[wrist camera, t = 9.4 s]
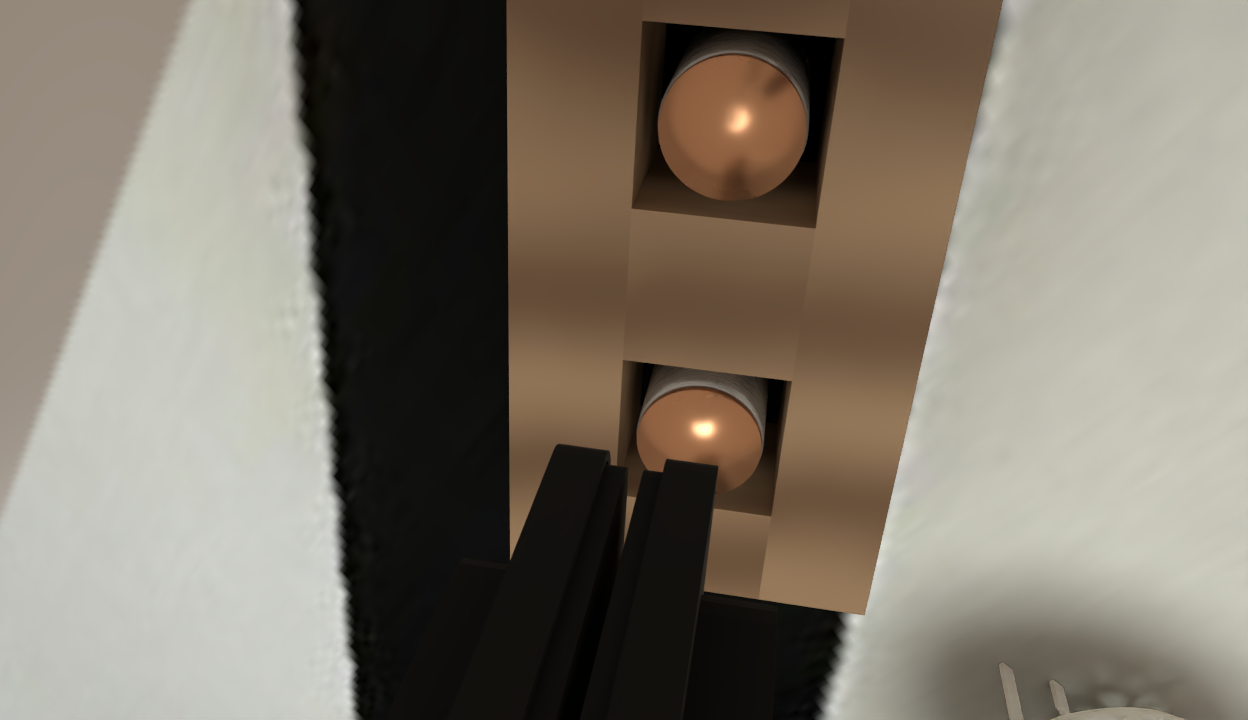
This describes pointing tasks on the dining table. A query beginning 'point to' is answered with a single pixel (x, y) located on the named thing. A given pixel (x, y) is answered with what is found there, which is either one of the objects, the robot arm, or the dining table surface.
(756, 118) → the plunger
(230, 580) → the dining table surface
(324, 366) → the dining table surface
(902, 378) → the socket block
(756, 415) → the plunger
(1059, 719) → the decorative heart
